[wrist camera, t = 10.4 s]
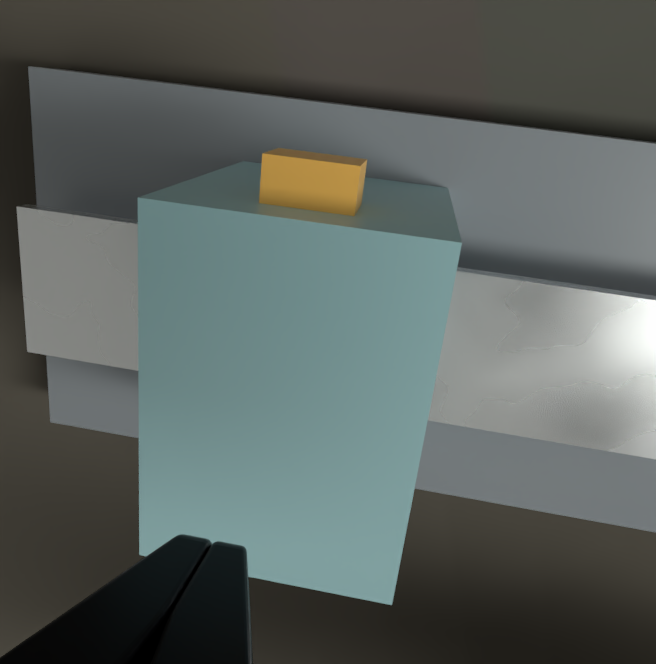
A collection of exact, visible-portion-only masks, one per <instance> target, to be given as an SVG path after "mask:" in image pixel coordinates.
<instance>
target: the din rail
mask: <svg viewBox="0 0 656 664" xmlns="http://www.w3.org/2000/svg"><path fill="white" fill-rule="evenodd" d="M16 207H17V221H18V234H19V247H20V261H21V274H22V287H23V301H24V314H25V328H26V341H27V352H31V353H37V354H43V355H49V356H54V357H60V358H66V359H72V360H78V361H84V362H90V363H95V364H101V365H107V366H113V367H119V368H125V369H130V370H136V371H138V220H134V219H128V218H121V217H114V216H107V215H100V214H93V213H87V212H80V211H73V210H66V209H59V208H52V207H46V206H39V205H32V204H23V205H20V206H16ZM428 421H434V422H440V423H446V424H452V425H458V426H463V427H469V428H475V429H481V430H487V431H493V432H498V433H504V434H510V435H516V436H522V437H528V438H533V439H539V440H545V441H551V442H557V443H563V444H569V445H574V446H580V447H586V448H592V449H598V450H604V451H609V452H615V453H621V454H627V455H633V456H639V457H644V458H650V459H656V296H653V295H646V294H640V293H633V292H626V291H619V290H612V289H605V288H599V287H592V286H585V285H578V284H571V283H565V282H558V281H551V280H544V279H537V278H530V277H524V276H517V275H510V274H503V273H496V272H489V271H483V270H476V269H469V268H462V267H457V271H456V277H455V282H454V287H453V292H452V297H451V302H450V308H449V313H448V318H447V323H446V328H445V333H444V339H443V344H442V349H441V354H440V359H439V365H438V370H437V375H436V380H435V385H434V390H433V396H432V401H431V406H430V411H429V416H428Z"/></svg>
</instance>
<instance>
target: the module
mask: <svg viewBox="0 0 656 664" xmlns="http://www.w3.org/2000/svg"><path fill="white" fill-rule="evenodd" d="M366 165H367V159H362V158H354V157H346V156H338V155H331V154H323V153H315V152H307V151H300V150H292V149H284V148H277V149H274V150H271V151H268V152H265V153H262V163H254V162H247V161H242V162H239V163H237V164H234V165H231V166H228V167H225V168H222V169H219V170H216V171H213V172H210V173H207V174H205V175H202V176H199V177H196V178H193V179H190V180H187V181H184V182H181V183H178V184H175V185H173V186H170V187H167V188H164V189H161V190H158V191H155V192H152V193H149V194H146V195H143V196H141V197H138V384H139V555H142V556H148V555H149V554H150V553H152V552H153V551H155V550H156V549H158V548H159V547H161V546H162V545H163V544H165V543H166V542H168V541H169V540H171V539H172V538H174V537H175V536H177V535H180V534H185V535H191V536H196V537H201V538H206V539H209V540H210V541H211V542H212V544H213V543H214V542H216V541H221V542H226V543H231V544H236V545H242V546H244V547H245V548H246V550H247V562H248V577H253V578H258V579H263V580H268V581H273V582H278V583H283V584H288V585H293V586H298V587H303V588H308V589H313V590H318V591H323V592H328V593H333V594H338V595H343V596H348V597H353V598H358V599H363V600H368V601H373V602H378V603H383V604H388V605H392V603H393V597H394V592H395V587H396V582H397V577H398V572H399V566H400V561H401V556H402V551H403V546H404V540H405V535H406V530H407V525H408V520H409V515H410V509H411V504H412V499H413V494H414V489H415V484H416V478H417V473H418V468H419V463H420V458H421V453H422V447H423V442H424V437H425V432H426V427H427V421H428V416H429V411H430V406H431V401H432V396H433V390H434V385H435V380H436V375H437V370H438V365H439V359H440V354H441V349H442V344H443V339H444V333H445V328H446V323H447V318H448V313H449V308H450V302H451V297H452V292H453V287H454V282H455V277H456V271H457V266H458V261H459V256H460V251H461V246H462V241H461V237H460V233H459V229H458V225H457V221H456V217H455V213H454V209H453V205H452V201H451V197H450V193H449V189H448V188H445V187H437V186H429V185H422V184H414V183H407V182H399V181H391V180H384V179H376V178H368V177H365V173H366Z"/></svg>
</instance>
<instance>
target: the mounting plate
mask: <svg viewBox="0 0 656 664" xmlns="http://www.w3.org/2000/svg"><path fill="white" fill-rule="evenodd" d="M28 73H29V89H30V105H31V121H32V137H33V153H34V169H35V185H36V200H37V205H39V206H46V207H52V208H59V209H66V210H73V211H80V212H87V213H93V214H100V215H107V216H114V217H121V218H128V219H134V220H138V197H141V196H143V195H146V194H149V193H152V192H155V191H158V190H161V189H164V188H167V187H170V186H173V185H175V184H178V183H181V182H184V181H187V180H190V179H193V178H196V177H199V176H202V175H205V174H207V173H210V172H213V171H216V170H219V169H222V168H225V167H228V166H231V165H234V164H237V163H239V162H242V161H247V162H254V163H262V153H265V152H268V151H271V150H274V149H277V148H284V149H292V150H300V151H307V152H315V153H323V154H331V155H338V156H346V157H354V158H362V159H367V165H366V173H365V177H368V178H376V179H384V180H391V181H399V182H407V183H414V184H422V185H429V186H437V187H445V188H448V189H449V193H450V197H451V201H452V205H453V209H454V213H455V217H456V221H457V225H458V229H459V233H460V237H461V241H462V246H461V251H460V256H459V261H458V266H457V267H462V268H469V269H476V270H483V271H489V272H496V273H503V274H510V275H517V276H524V277H530V278H537V279H544V280H551V281H558V282H565V283H571V284H578V285H585V286H592V287H599V288H605V289H612V290H619V291H626V292H633V293H640V294H646V295H653V296H656V142H650V141H642V140H634V139H626V138H618V137H610V136H601V135H593V134H585V133H577V132H569V131H561V130H553V129H545V128H536V127H528V126H520V125H512V124H504V123H496V122H488V121H480V120H472V119H463V118H455V117H447V116H439V115H431V114H423V113H415V112H407V111H399V110H390V109H382V108H374V107H366V106H358V105H350V104H342V103H334V102H326V101H317V100H309V99H301V98H293V97H285V96H277V95H269V94H261V93H253V92H244V91H236V90H228V89H220V88H212V87H204V86H196V85H188V84H180V83H171V82H163V81H155V80H147V79H139V78H131V77H123V76H115V75H106V74H98V73H90V72H82V71H74V70H66V69H56V68H44V67H31V66H28ZM46 360H47V376H48V392H49V408H50V422H53V423H58V424H64V425H69V426H75V427H80V428H86V429H91V430H97V431H102V432H108V433H113V434H119V435H124V436H129V437H135V438H139V384H138V371H136V370H130V369H125V368H119V367H113V366H107V365H101V364H95V363H90V362H84V361H78V360H72V359H66V358H60V357H54V356H49V355H46ZM415 489H420V490H426V491H431V492H437V493H442V494H448V495H453V496H459V497H464V498H470V499H475V500H481V501H486V502H492V503H497V504H503V505H508V506H514V507H519V508H525V509H530V510H536V511H541V512H547V513H552V514H558V515H563V516H569V517H574V518H580V519H585V520H590V521H596V522H601V523H607V524H612V525H618V526H623V527H629V528H634V529H640V530H645V531H651V532H656V459H650V458H644V457H639V456H633V455H627V454H621V453H615V452H609V451H604V450H598V449H592V448H586V447H580V446H574V445H569V444H563V443H557V442H551V441H545V440H539V439H533V438H528V437H522V436H516V435H510V434H504V433H498V432H493V431H487V430H481V429H475V428H469V427H463V426H458V425H452V424H446V423H440V422H434V421H427V427H426V432H425V437H424V442H423V447H422V453H421V458H420V463H419V468H418V473H417V478H416V484H415Z"/></svg>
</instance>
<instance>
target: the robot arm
mask: <svg viewBox="0 0 656 664" xmlns="http://www.w3.org/2000/svg"><path fill="white" fill-rule="evenodd" d="M0 664H253V655H252V637H251V618H250V599H249V581H248V562H247V550H246V548H245V547H244V546H242V545H236V544H231V543H226V542H221V541H216V542H214V543H213V544H212V542H211V541H210V540H209V539H206V538H201V537H196V536H191V535H185V534H180V535H177V536H175V537H174V538H172V539H171V540H169V541H168V542H166V543H165V544H163V545H162V546H161V547H159V548H158V549H156V550H155V551H153V552H152V553H150V554H149V555H148V556H146V557H145V558H143V559H142V560H140V561H139V562H137V563H136V564H135V565H133V566H132V567H130V568H129V569H127V570H126V571H124V572H123V573H122V574H120V575H119V576H117V577H116V578H114V579H113V580H111V581H110V582H109V583H107V584H106V585H104V586H103V587H101V588H100V589H98V590H97V591H96V592H94V593H93V594H91V595H90V596H88V597H87V598H85V599H84V600H83V601H81V602H80V603H78V604H77V605H75V606H74V607H72V608H71V609H70V610H68V611H67V612H65V613H64V614H62V615H61V616H60V617H58V618H57V619H55V620H54V621H52V622H51V623H49V624H48V625H47V626H45V627H44V628H42V629H41V630H39V631H38V632H36V633H35V634H34V635H32V636H31V637H29V638H28V639H26V640H25V641H23V642H22V643H21V644H19V645H18V646H16V647H15V648H13V649H12V650H10V651H9V652H8V653H6V654H5V655H3V656H2V657H0Z"/></svg>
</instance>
